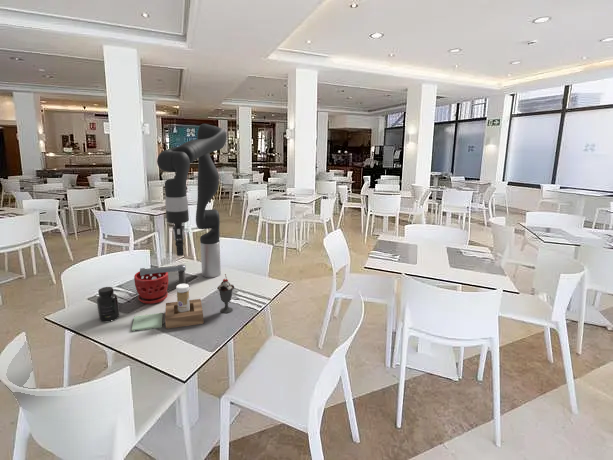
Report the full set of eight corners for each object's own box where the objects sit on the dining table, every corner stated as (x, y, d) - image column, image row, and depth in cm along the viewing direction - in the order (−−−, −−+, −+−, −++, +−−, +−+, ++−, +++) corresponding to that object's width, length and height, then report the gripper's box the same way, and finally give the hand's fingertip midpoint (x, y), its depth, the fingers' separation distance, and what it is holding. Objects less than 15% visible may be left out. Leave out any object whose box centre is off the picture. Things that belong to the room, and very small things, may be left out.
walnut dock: (166, 305, 147) (164, 270, 143) (200, 301, 152) (198, 267, 148) (165, 328, 130) (162, 289, 126) (203, 323, 134) (201, 285, 130)
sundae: (228, 304, 149) (227, 271, 145) (238, 310, 145) (237, 276, 141) (214, 309, 145) (213, 275, 141) (223, 315, 140) (222, 280, 136)
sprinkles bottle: (176, 320, 136) (174, 287, 133) (180, 314, 140) (178, 282, 137) (188, 320, 136) (186, 288, 132) (192, 315, 140) (190, 283, 137)
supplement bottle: (100, 315, 138) (96, 286, 135) (120, 312, 141) (116, 284, 138) (98, 324, 132) (94, 294, 129) (118, 320, 135) (115, 291, 132)
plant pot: (129, 302, 150) (126, 275, 146) (155, 290, 161) (153, 265, 158) (151, 309, 144) (148, 282, 141) (176, 297, 155) (174, 271, 152)
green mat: (134, 318, 137) (134, 316, 137) (162, 314, 140) (162, 312, 140) (131, 331, 128) (131, 329, 127) (161, 327, 131) (161, 325, 131)
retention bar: (185, 268, 145) (185, 263, 145) (185, 271, 142) (185, 266, 142) (140, 272, 140) (140, 268, 139) (140, 275, 137) (139, 271, 136)
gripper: (188, 212, 122) (191, 257, 126) (187, 204, 135) (190, 245, 139) (165, 213, 119) (168, 259, 124) (166, 205, 132) (169, 247, 136)
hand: (180, 251), depth 131 cm, fingers open, 8 cm apart
